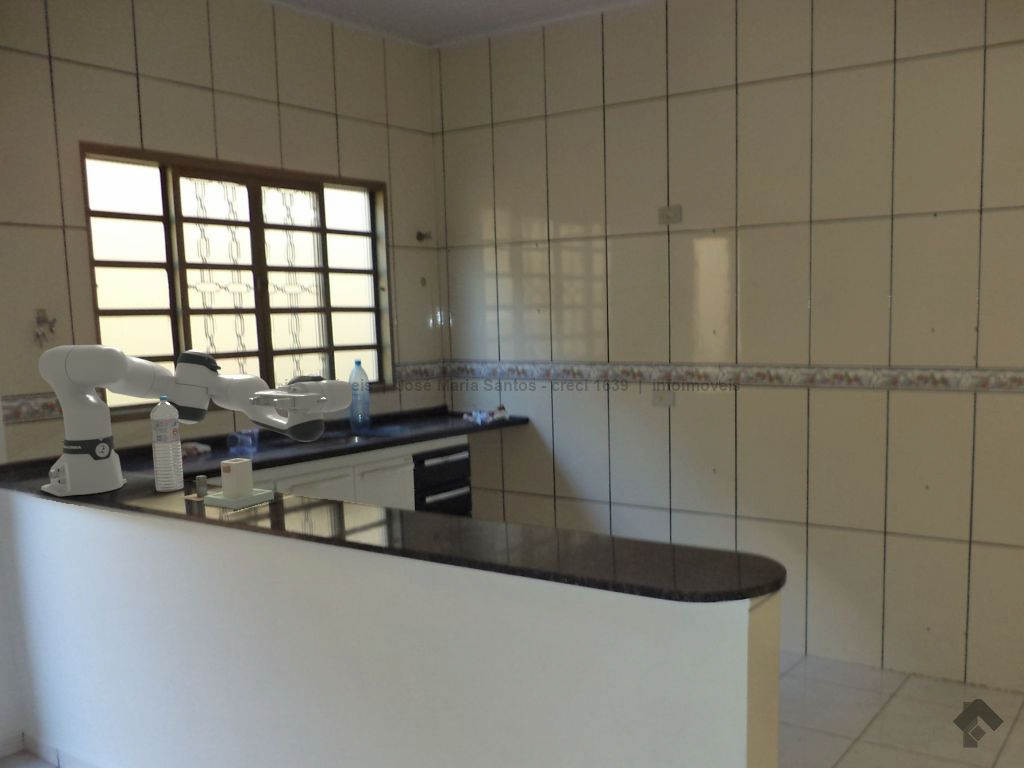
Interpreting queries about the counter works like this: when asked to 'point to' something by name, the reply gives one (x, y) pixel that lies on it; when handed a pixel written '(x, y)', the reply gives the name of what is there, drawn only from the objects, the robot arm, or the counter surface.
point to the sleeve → (237, 478)
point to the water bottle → (166, 447)
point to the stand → (199, 489)
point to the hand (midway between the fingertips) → (262, 402)
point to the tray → (258, 497)
